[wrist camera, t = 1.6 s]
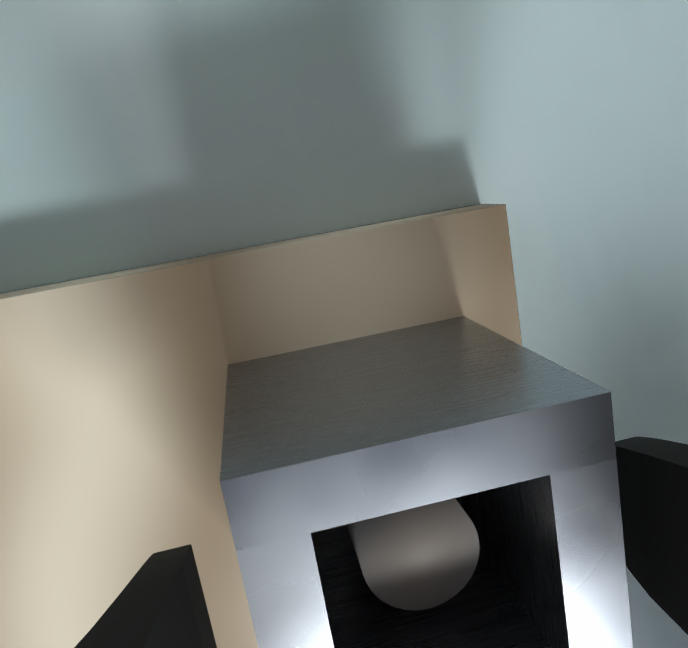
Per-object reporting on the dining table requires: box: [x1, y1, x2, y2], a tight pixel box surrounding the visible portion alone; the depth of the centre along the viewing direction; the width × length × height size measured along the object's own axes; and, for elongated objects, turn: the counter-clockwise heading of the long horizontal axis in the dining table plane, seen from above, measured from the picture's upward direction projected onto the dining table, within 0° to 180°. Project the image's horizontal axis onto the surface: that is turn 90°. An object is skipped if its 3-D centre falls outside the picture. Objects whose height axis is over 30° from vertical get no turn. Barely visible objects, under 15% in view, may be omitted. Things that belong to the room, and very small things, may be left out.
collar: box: [220, 316, 633, 648], centre depth 12 cm, size 5×5×6 cm
